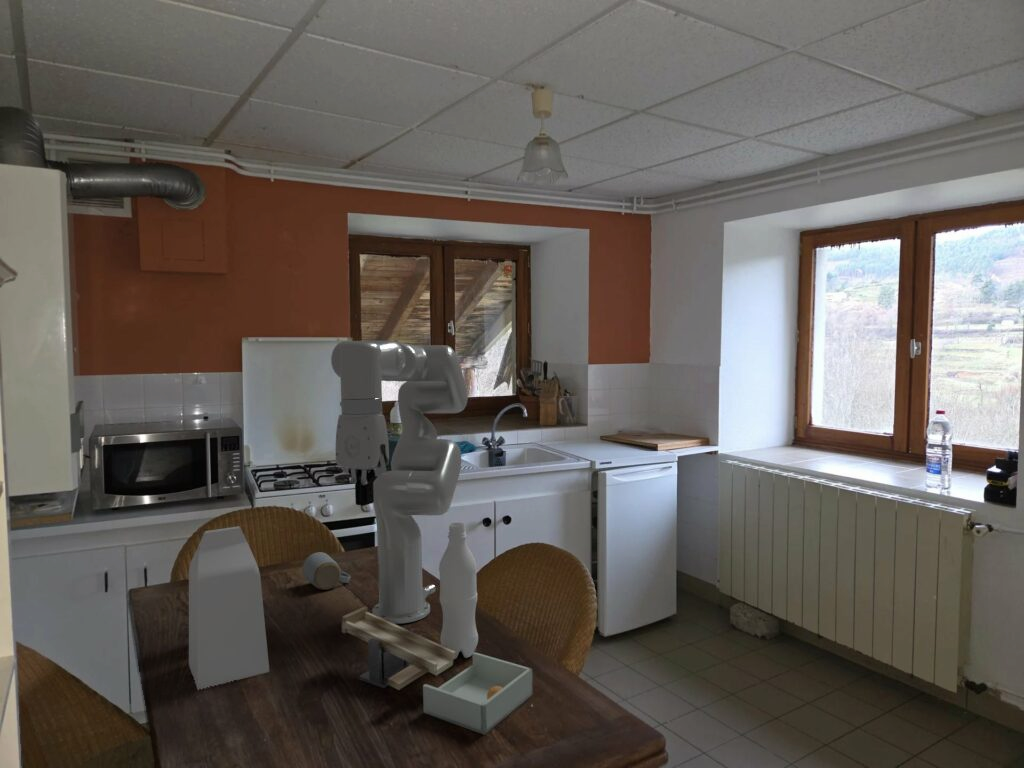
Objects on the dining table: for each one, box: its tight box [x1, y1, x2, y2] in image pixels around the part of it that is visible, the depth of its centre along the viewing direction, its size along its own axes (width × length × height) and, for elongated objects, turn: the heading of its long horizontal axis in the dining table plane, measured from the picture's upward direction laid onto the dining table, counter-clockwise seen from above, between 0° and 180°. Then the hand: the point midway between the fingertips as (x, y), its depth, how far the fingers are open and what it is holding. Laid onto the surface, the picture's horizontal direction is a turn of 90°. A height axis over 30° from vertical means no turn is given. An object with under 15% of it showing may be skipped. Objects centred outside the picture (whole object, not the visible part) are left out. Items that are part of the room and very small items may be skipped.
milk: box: [188, 525, 270, 691], centre depth 128 cm, size 12×12×26 cm
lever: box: [341, 606, 456, 691], centre depth 121 cm, size 22×12×3 cm, turn 57°
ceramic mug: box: [302, 551, 352, 591], centre depth 171 cm, size 11×8×8 cm
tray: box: [422, 651, 534, 736], centre depth 114 cm, size 14×12×4 cm
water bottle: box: [438, 522, 479, 660], centre depth 132 cm, size 7×7×25 cm
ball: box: [487, 686, 502, 700], centre depth 112 cm, size 3×3×3 cm
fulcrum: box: [358, 625, 412, 689], centre depth 125 cm, size 6×9×7 cm, turn 147°
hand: (364, 503), depth 132 cm, fingers closed
